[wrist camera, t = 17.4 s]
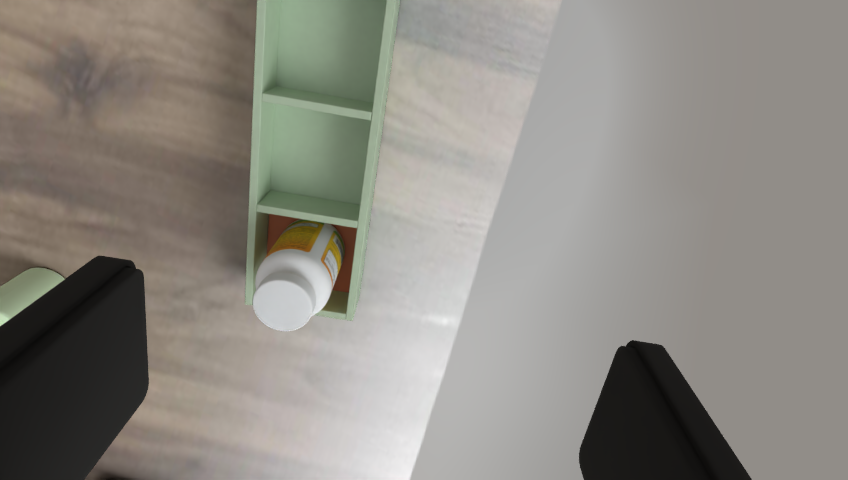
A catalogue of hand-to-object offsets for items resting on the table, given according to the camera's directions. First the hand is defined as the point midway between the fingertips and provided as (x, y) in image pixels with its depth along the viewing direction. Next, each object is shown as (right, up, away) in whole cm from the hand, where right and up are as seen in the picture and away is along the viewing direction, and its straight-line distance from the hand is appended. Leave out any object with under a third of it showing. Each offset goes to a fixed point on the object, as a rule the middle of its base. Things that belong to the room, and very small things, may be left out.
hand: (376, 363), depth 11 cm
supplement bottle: (-8, +2, +34) cm, 35 cm away
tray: (-7, +9, +31) cm, 33 cm away
